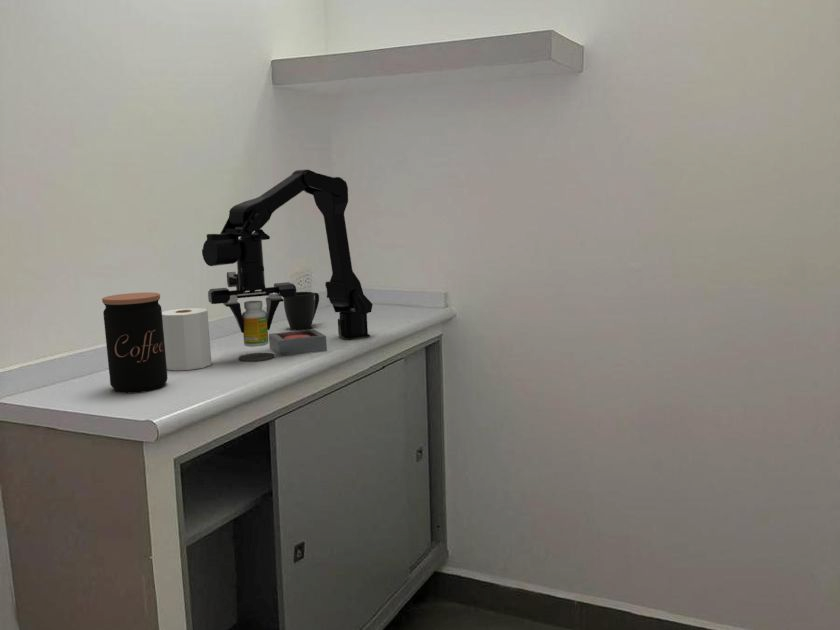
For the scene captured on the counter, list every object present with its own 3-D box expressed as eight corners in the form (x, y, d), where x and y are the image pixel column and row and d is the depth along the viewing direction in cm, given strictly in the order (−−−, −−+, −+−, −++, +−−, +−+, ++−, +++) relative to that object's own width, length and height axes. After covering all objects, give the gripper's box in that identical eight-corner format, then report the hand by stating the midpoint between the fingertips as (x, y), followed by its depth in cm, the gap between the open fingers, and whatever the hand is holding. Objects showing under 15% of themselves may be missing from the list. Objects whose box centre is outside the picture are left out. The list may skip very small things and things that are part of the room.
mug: (331, 324, 229) (329, 290, 228) (302, 332, 219) (299, 296, 218) (308, 323, 234) (306, 289, 232) (279, 330, 224) (276, 295, 223)
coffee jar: (112, 396, 156) (103, 301, 153) (109, 385, 166) (100, 295, 163) (171, 389, 160) (163, 296, 158) (164, 378, 170) (157, 291, 167)
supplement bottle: (263, 347, 184) (259, 303, 182) (240, 347, 185) (236, 303, 183) (272, 342, 189) (269, 299, 187) (250, 342, 190) (246, 300, 188)
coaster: (270, 352, 192) (270, 351, 192) (278, 359, 185) (278, 357, 185) (235, 356, 189) (235, 355, 189) (242, 363, 182) (241, 361, 182)
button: (307, 344, 199) (306, 333, 199) (313, 348, 193) (312, 337, 193) (282, 346, 197) (281, 336, 196) (288, 351, 191) (287, 340, 191)
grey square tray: (314, 343, 202) (313, 329, 202) (326, 350, 192) (326, 335, 192) (269, 348, 198) (268, 333, 198) (279, 356, 188) (278, 340, 188)
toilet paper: (176, 361, 188) (171, 308, 186) (219, 360, 186) (215, 307, 184) (155, 371, 178) (149, 315, 176) (200, 370, 176) (195, 314, 174)
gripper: (283, 256, 195) (288, 322, 197) (202, 262, 188) (208, 330, 190) (294, 259, 185) (299, 328, 187) (209, 266, 178) (215, 337, 180)
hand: (255, 331), depth 186 cm, fingers closed on supplement bottle, 5 cm apart
